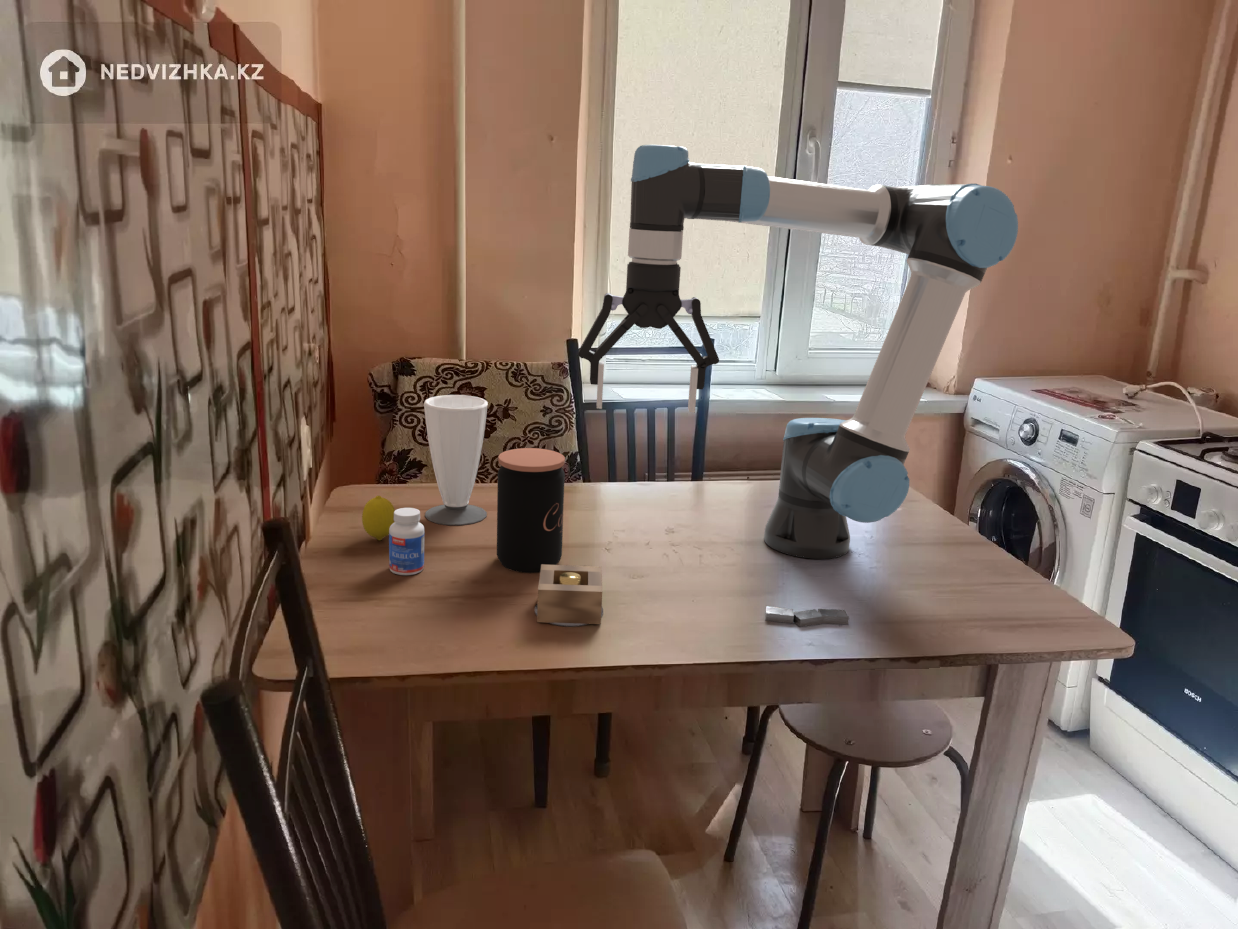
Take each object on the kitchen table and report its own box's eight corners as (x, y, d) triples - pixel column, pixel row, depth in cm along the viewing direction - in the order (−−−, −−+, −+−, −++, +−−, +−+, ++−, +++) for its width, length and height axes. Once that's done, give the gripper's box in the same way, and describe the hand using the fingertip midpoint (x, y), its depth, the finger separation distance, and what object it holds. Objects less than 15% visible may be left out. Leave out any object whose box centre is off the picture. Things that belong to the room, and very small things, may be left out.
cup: (481, 503, 177) (482, 394, 171) (492, 523, 167) (493, 408, 161) (421, 506, 174) (419, 395, 167) (428, 527, 163) (427, 409, 157)
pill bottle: (388, 576, 142) (386, 517, 139) (390, 563, 147) (389, 505, 144) (423, 576, 143) (423, 517, 140) (425, 562, 148) (424, 505, 145)
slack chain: (843, 616, 137) (844, 608, 137) (850, 628, 133) (851, 621, 133) (762, 613, 136) (763, 605, 136) (767, 625, 132) (768, 618, 132)
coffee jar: (551, 578, 145) (555, 469, 140) (487, 569, 147) (488, 462, 142) (568, 553, 155) (572, 451, 150) (508, 546, 157) (510, 445, 152)
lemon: (356, 542, 155) (354, 497, 153) (376, 532, 160) (374, 488, 158) (383, 548, 153) (382, 503, 151) (402, 537, 158) (402, 494, 156)
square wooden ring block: (600, 597, 138) (601, 566, 137) (600, 624, 130) (602, 591, 128) (540, 595, 138) (541, 564, 136) (537, 622, 129) (538, 589, 128)
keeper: (602, 597, 139) (604, 564, 137) (603, 627, 129) (605, 592, 128) (536, 595, 138) (537, 561, 137) (532, 625, 129) (533, 589, 127)
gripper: (738, 263, 133) (726, 406, 139) (566, 254, 132) (561, 399, 138) (746, 267, 125) (733, 418, 131) (564, 258, 124) (559, 410, 130)
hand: (645, 408), depth 135 cm, fingers open, 13 cm apart
